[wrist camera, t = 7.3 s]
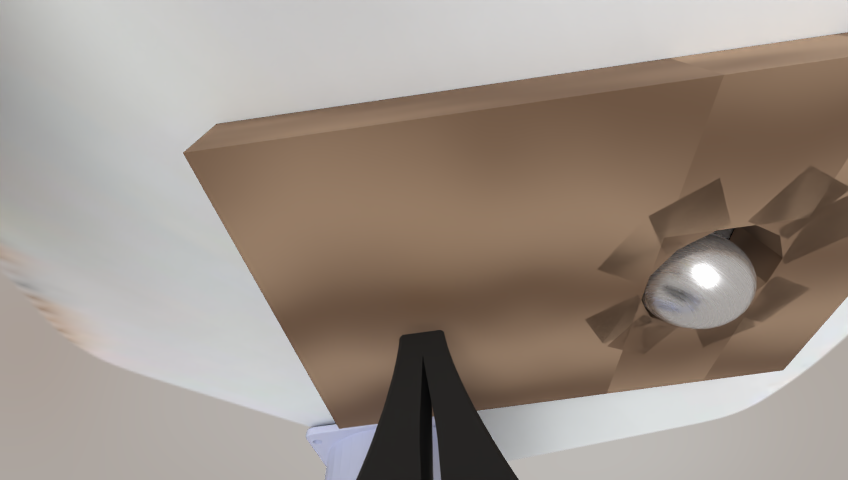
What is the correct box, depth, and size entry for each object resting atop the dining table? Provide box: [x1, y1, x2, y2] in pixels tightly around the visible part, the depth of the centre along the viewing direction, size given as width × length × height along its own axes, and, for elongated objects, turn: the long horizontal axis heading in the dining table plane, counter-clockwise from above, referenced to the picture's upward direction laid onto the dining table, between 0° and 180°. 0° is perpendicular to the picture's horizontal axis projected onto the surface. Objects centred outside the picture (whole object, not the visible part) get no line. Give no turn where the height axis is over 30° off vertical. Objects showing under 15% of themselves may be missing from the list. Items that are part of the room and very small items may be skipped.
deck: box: [183, 33, 848, 429], centre depth 13 cm, size 14×21×2 cm, turn 97°
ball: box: [641, 233, 757, 329], centre depth 13 cm, size 4×4×4 cm
